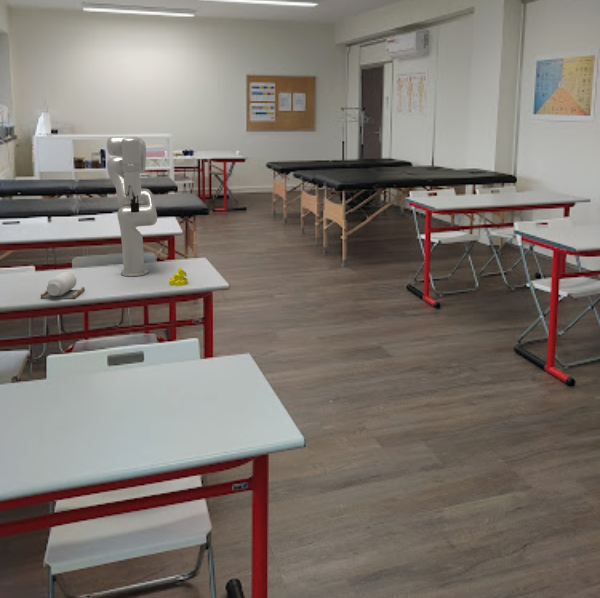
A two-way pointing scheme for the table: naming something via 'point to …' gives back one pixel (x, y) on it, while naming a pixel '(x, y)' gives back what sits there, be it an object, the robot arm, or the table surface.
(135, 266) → the robot arm
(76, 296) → the rails
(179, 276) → the yellow lumpy pyramid
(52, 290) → the pill bottle
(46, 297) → the grey tray
